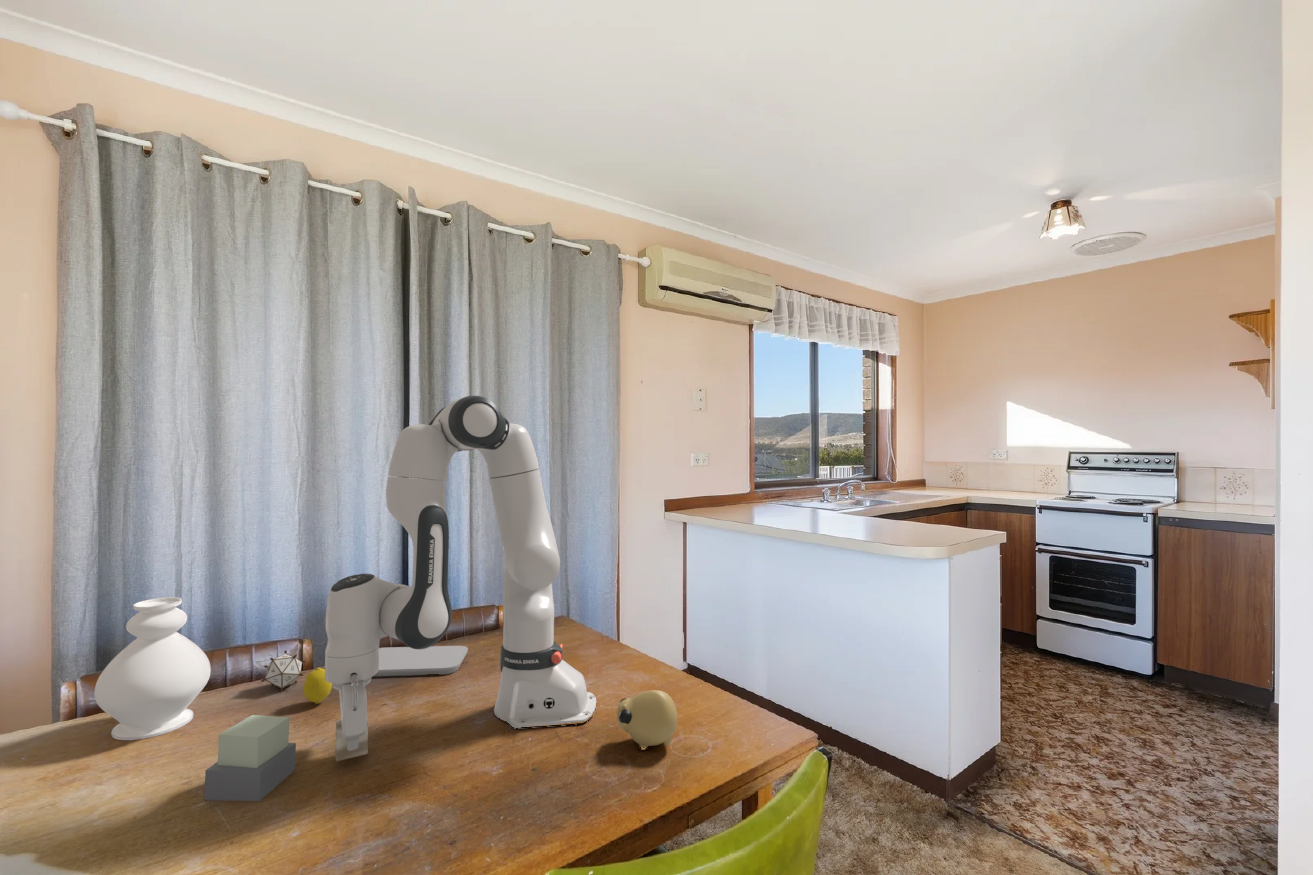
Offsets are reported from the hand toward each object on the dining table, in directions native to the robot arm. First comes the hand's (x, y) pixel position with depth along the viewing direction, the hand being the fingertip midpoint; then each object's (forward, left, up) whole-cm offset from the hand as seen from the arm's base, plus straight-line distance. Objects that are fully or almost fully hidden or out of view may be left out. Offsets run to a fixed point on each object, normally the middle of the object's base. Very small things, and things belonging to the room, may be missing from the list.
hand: (351, 740), depth 105 cm
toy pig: (-54, -8, -4) cm, 55 cm away
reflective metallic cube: (0, 0, -2) cm, 2 cm away
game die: (+33, -30, -4) cm, 45 cm away
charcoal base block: (+13, +8, -4) cm, 15 cm away
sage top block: (+13, +8, +1) cm, 15 cm away
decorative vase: (+47, -11, -4) cm, 48 cm away
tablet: (+9, -46, -4) cm, 47 cm away
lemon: (+20, -22, -4) cm, 30 cm away
